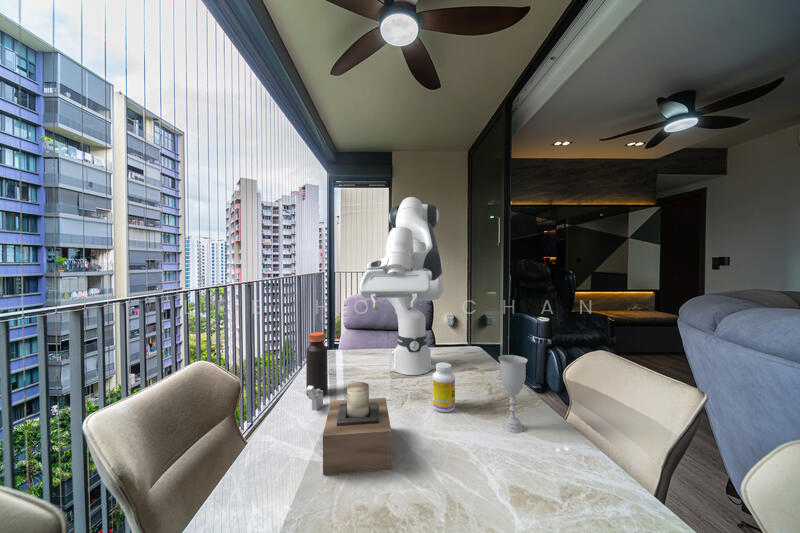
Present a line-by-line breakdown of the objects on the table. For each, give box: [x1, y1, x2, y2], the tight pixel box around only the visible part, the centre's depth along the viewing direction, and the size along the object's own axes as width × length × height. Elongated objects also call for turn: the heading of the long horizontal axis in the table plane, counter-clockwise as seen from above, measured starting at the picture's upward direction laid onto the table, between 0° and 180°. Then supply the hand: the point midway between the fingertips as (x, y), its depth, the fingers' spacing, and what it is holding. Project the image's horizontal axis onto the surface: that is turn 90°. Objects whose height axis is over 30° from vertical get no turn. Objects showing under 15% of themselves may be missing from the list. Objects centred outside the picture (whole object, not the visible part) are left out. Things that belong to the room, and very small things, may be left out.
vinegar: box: [305, 331, 329, 397], centre depth 100 cm, size 7×7×20 cm
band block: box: [322, 397, 392, 476], centre depth 70 cm, size 16×14×9 cm
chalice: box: [497, 354, 528, 434], centre depth 79 cm, size 7×7×18 cm
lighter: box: [305, 386, 324, 412], centre depth 90 cm, size 7×2×8 cm, turn 168°
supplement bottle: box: [432, 362, 456, 413], centre depth 90 cm, size 7×7×13 cm
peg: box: [346, 381, 370, 418], centre depth 70 cm, size 5×5×8 cm
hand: (392, 309), depth 82 cm, fingers open, 8 cm apart
